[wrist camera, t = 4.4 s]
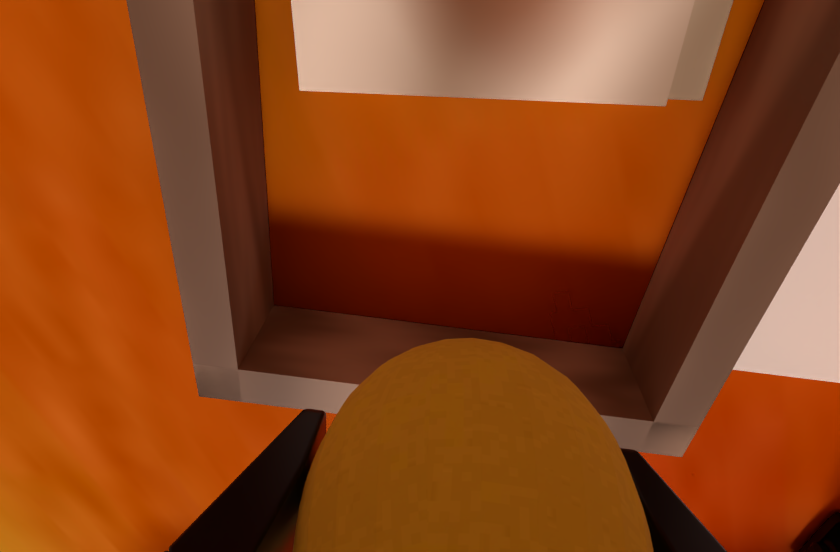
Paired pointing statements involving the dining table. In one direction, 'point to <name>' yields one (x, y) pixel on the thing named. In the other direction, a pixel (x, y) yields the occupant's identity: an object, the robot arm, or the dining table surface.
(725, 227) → the walnut rack
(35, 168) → the dining table surface
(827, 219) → the tile
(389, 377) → the lemon
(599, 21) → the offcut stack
